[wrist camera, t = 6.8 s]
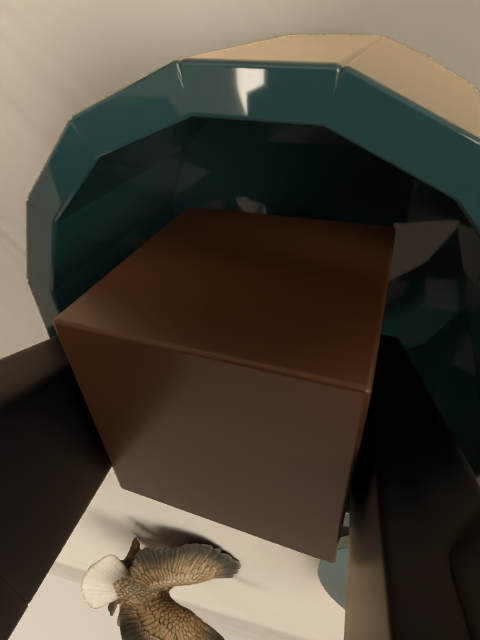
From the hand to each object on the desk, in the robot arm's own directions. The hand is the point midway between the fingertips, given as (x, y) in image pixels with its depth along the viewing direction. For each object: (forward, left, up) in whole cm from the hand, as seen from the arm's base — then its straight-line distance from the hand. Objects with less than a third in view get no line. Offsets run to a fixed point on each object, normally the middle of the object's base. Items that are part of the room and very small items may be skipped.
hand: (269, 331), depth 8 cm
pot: (0, 0, -4) cm, 4 cm away
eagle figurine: (+4, -26, -4) cm, 27 cm away
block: (0, 0, -1) cm, 1 cm away
